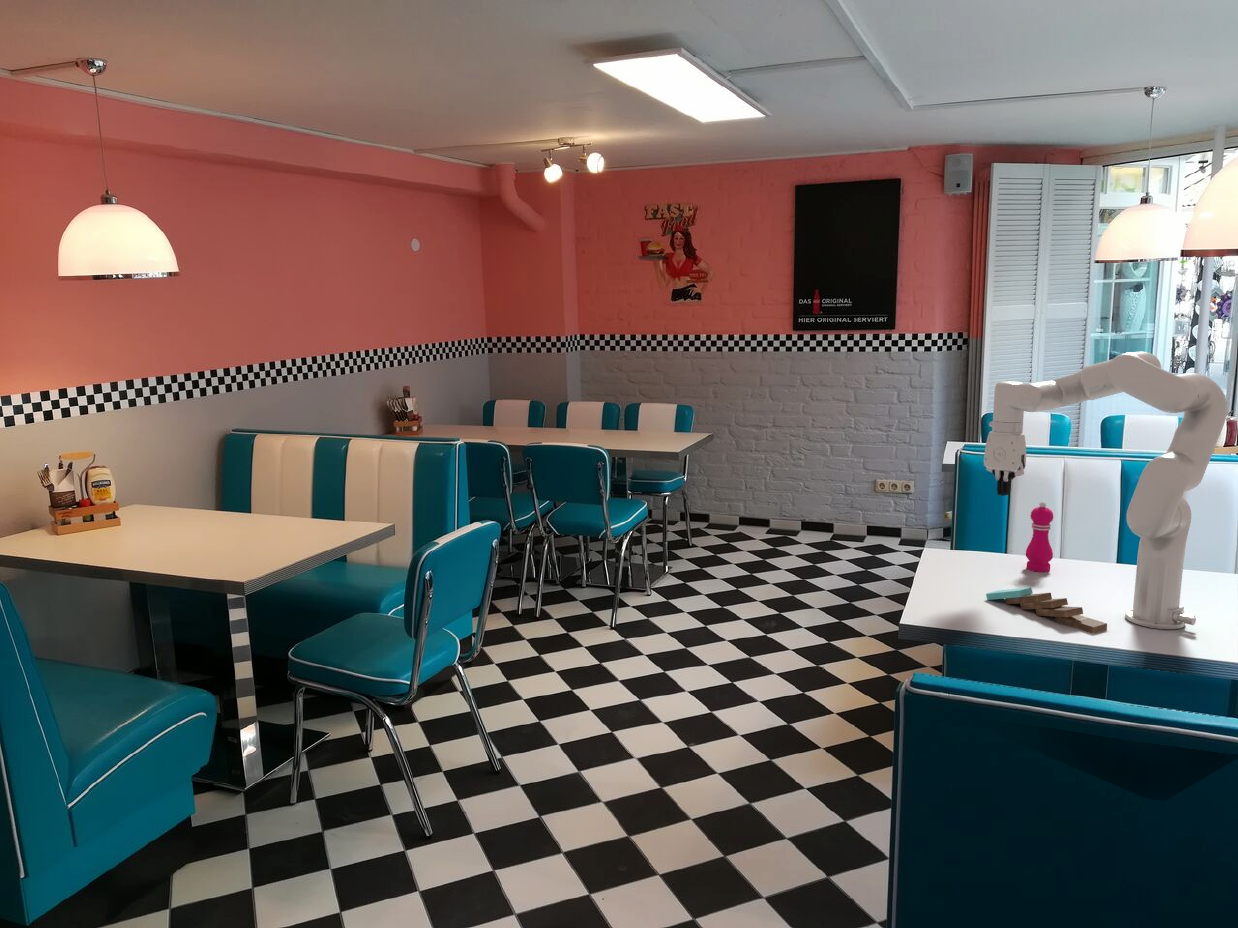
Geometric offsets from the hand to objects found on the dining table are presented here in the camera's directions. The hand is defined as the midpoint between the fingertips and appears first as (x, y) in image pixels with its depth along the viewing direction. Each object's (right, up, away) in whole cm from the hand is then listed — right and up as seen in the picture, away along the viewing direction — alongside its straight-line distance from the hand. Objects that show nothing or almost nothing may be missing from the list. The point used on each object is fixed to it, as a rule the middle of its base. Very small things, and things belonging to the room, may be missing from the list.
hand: (1003, 494), depth 248 cm
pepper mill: (+18, -22, +18) cm, 34 cm away
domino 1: (-6, -26, -8) cm, 28 cm away
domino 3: (-1, -27, -16) cm, 32 cm away
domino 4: (+1, -28, -21) cm, 35 cm away
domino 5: (+4, -29, -25) cm, 38 cm away
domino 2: (-3, -27, -12) cm, 29 cm away
